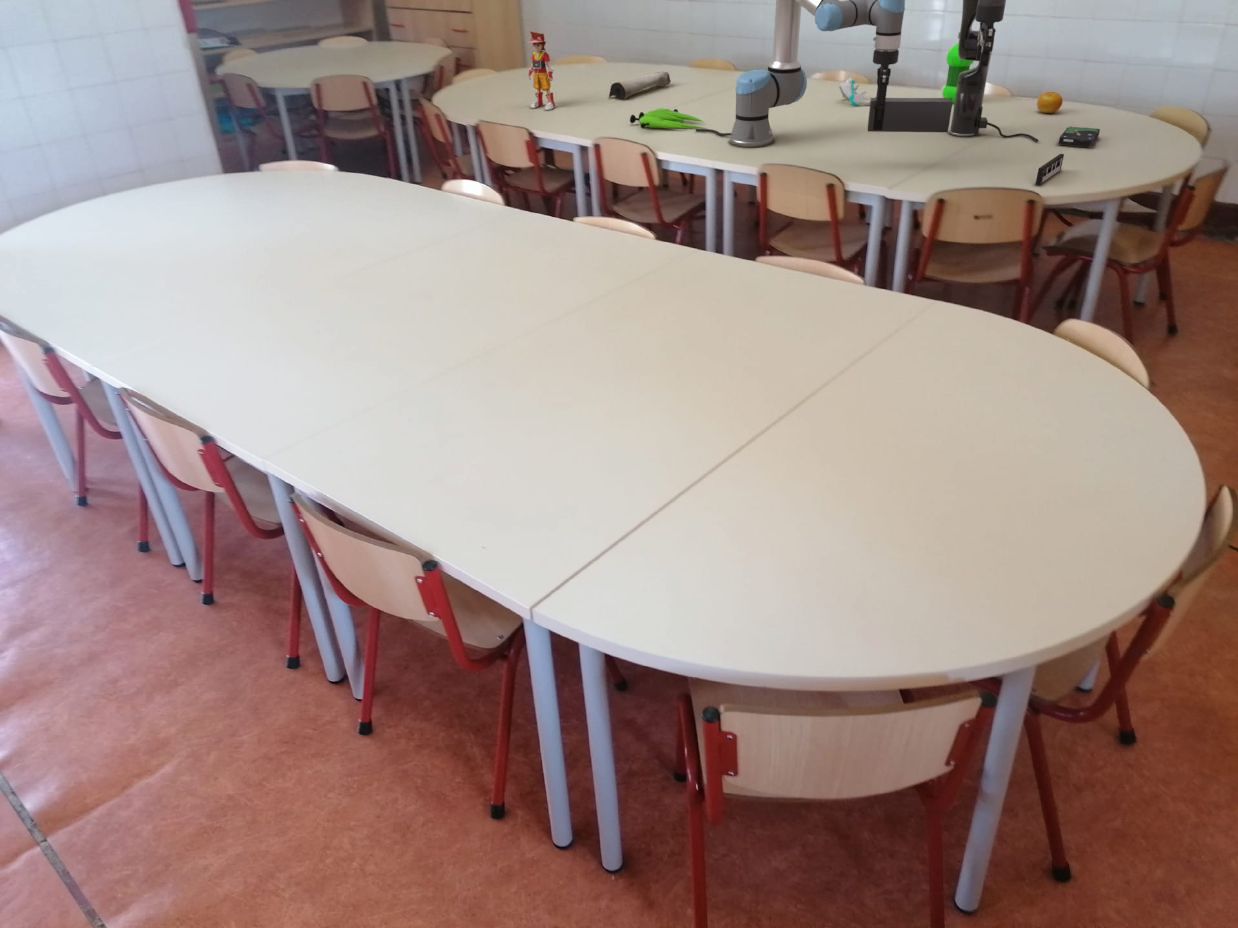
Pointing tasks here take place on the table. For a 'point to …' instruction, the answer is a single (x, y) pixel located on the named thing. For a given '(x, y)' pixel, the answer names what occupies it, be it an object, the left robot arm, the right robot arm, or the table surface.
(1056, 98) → the fruit
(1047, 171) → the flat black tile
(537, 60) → the toy
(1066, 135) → the disk drive
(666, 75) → the rolled mat
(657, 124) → the toy
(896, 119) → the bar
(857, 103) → the anatomical model
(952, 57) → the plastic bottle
